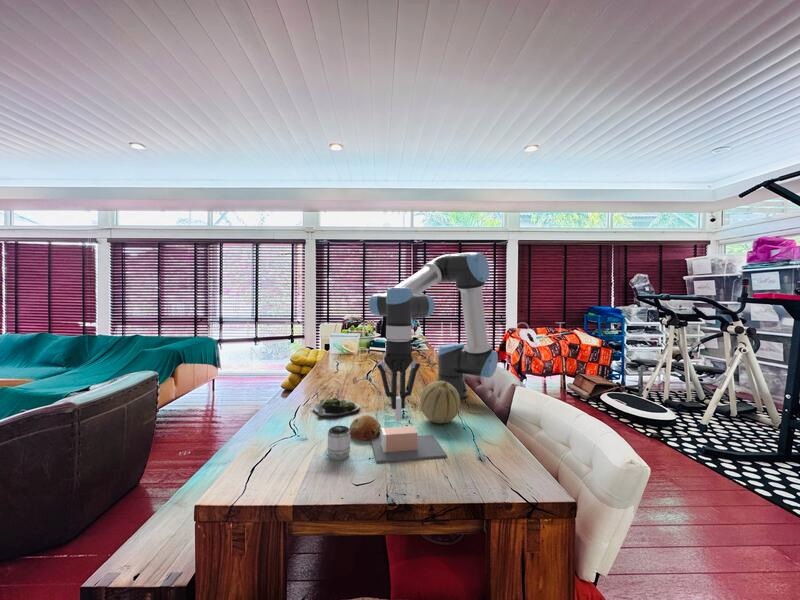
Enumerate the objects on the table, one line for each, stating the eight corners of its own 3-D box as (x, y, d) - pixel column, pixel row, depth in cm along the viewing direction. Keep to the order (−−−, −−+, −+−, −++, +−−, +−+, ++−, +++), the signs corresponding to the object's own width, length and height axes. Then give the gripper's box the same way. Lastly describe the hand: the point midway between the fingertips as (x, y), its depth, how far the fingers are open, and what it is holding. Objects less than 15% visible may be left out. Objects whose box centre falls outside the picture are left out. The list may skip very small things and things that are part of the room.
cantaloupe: (432, 411, 133) (432, 373, 132) (466, 420, 124) (467, 379, 124) (411, 423, 121) (411, 381, 120) (448, 433, 112) (448, 388, 112)
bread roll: (371, 438, 116) (365, 415, 119) (389, 434, 109) (383, 409, 112) (347, 447, 109) (341, 422, 112) (365, 443, 103) (358, 416, 105)
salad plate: (302, 408, 137) (302, 396, 136) (342, 399, 147) (342, 389, 147) (322, 422, 121) (322, 409, 121) (365, 412, 132) (365, 400, 132)
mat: (432, 436, 110) (432, 434, 110) (446, 457, 96) (446, 455, 96) (371, 440, 106) (371, 439, 106) (376, 462, 92) (376, 460, 92)
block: (413, 426, 104) (381, 428, 102) (417, 432, 99) (383, 435, 97) (413, 442, 104) (381, 444, 102) (417, 449, 99) (383, 452, 97)
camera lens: (336, 448, 100) (336, 422, 100) (354, 453, 98) (354, 426, 97) (322, 457, 95) (323, 430, 94) (341, 463, 92) (341, 434, 92)
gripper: (417, 337, 105) (416, 413, 105) (375, 338, 102) (374, 416, 103) (423, 341, 97) (422, 422, 98) (378, 341, 95) (377, 425, 95)
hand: (397, 419), depth 100 cm, fingers closed
